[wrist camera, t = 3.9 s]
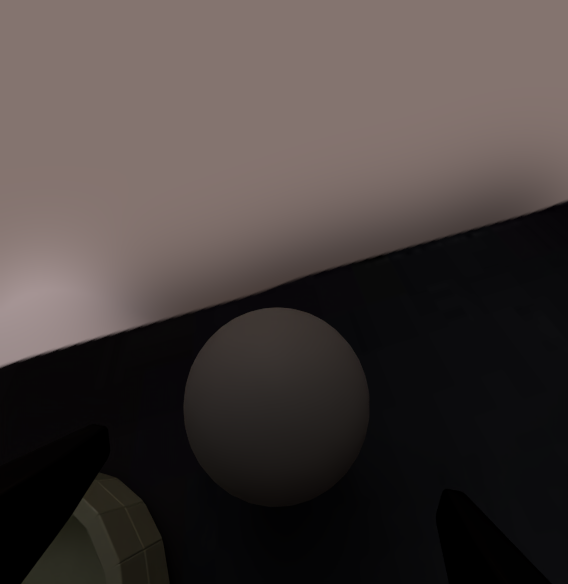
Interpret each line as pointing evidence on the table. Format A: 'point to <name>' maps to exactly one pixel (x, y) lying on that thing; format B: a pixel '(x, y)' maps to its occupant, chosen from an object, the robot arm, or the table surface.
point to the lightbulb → (276, 407)
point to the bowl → (105, 542)
